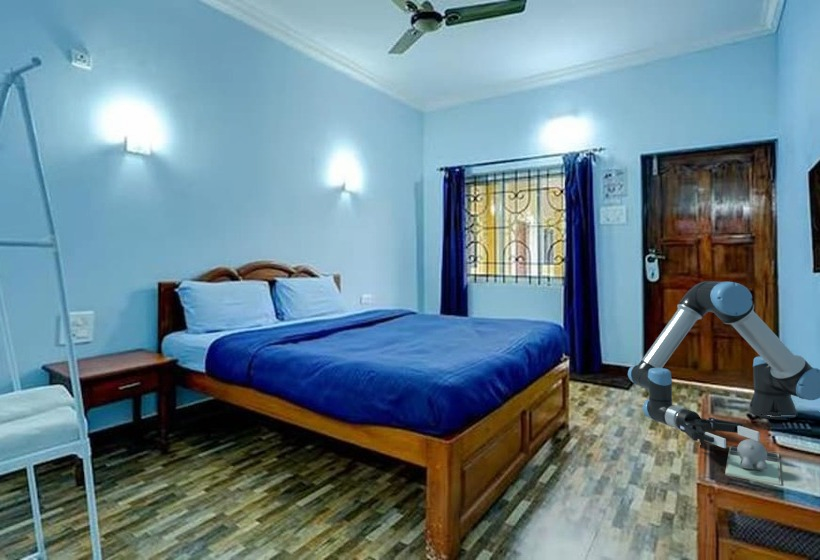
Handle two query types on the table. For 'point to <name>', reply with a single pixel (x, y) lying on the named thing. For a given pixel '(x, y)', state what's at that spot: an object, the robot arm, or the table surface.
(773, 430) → the table surface
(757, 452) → the chubby cartoon animal
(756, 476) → the pad
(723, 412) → the table surface
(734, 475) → the board
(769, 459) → the dark gray parallel strips
